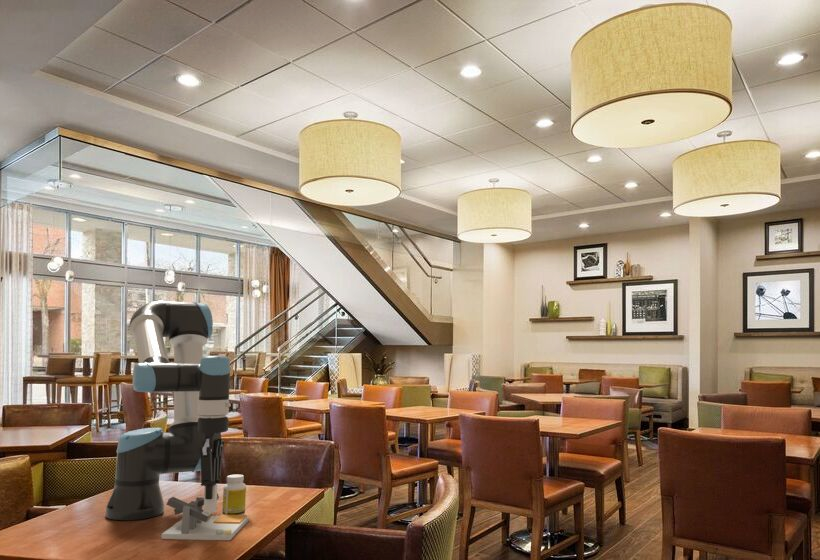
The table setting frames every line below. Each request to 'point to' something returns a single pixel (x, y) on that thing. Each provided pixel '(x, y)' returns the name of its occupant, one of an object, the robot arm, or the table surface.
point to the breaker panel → (205, 526)
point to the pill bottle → (234, 495)
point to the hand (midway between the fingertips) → (210, 511)
